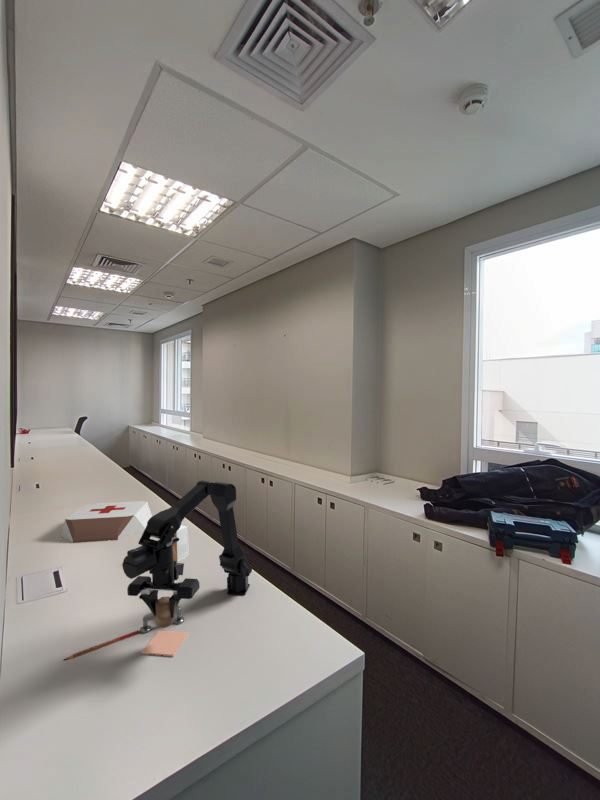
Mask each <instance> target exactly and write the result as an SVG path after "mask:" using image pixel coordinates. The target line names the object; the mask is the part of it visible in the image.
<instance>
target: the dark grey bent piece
mask: <svg viewBox="0 0 600 800" xmlns="http://www.w3.org/2000/svg"><path fill="white" fill-rule="evenodd" d="M162 597H163V596H162ZM162 597H160V598H162ZM181 610H182V609H181V606H179V605H178V607H177V611H176V614H175V615H176V617H174V622H173V624H175V625H180V624H182V623H184V621H185V617H183V616H182V615H181V614H182V613H181ZM153 620H156V617H155V616H154V615H153V613H149V614H145V615H144V616H142V625H143V626H142V627H140V628H139V633H141V634H147V633H150V631H152V626H151V625H150V624H148V622H149V621H150V622H151V621H153Z"/></svg>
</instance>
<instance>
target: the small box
mask: <svg viewBox="0 0 600 800" xmlns="http://www.w3.org/2000/svg"><path fill="white" fill-rule="evenodd" d="M188 533H189V531H188V526H187V525H183V524H181V526H180V528H179V529H178V531H177V532H176V533H175V534H174V535H175V536H176V537H177V538H179V541H177V542H175V543H173V559H174V561H176V563H180V562H181V561H183V560H184V559H186V557H187V558H188V557H190V555H189V553H190V552H189V534H188Z"/></svg>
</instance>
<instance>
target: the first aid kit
mask: <svg viewBox="0 0 600 800" xmlns="http://www.w3.org/2000/svg"><path fill="white" fill-rule="evenodd" d="M152 516H153V514H152V511H151V509H150V506H149V503H148V501H145V500H139V501H138V500H137V501H122V502H121V501H119V502H103V503H102V502H100V503H98V502H97V503H89V504H85V505H83V506H82V507H80V508H79V509H77V510H76V511H75V512H73V513H72V514H70V515H69V516H68V517H66V518H65V519H64V524H63V528H62V531H61V537H62V538H64V539H66V540H67V541H69V542H71V543H74V544H76V543H77V544H78V543H91V542H95V543H96V542H106V541H107V542H108V540H110V541H119V540H122V539H125V538H128V537H131V536H134V535H137V534H139V532H140V533H143V532H144V530H145V528H146V526H147V522H148V520H149V519H150V518H151V517H152ZM142 531H143V532H142ZM136 533H137V534H136ZM133 534H134V535H133ZM130 535H131V536H130ZM127 536H128V537H127ZM124 537H125V538H124ZM121 538H122V539H121ZM118 539H119V540H118Z"/></svg>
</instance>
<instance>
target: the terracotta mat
mask: <svg viewBox="0 0 600 800" xmlns="http://www.w3.org/2000/svg"><path fill="white" fill-rule="evenodd" d="M188 635H189V632H186V631H185V632H184V631H172V630H171V631H170V630H168V631H167V630H158V631H157V632H156V634H155V635H154V636H153V637H152V639H151V640H150V641H149V642H148V644H147V645H146V646H145V648H143V650H142V651H141V655H149V654H152V655H151V656H161V655H163V656H164V657H174V656H175V655H176V653H177V652H178V651H179V650H180V649H179V648H180V647H181V646H182V644H183V643H184V641H185V640H186V639H187V637H188ZM153 654H155V655H153ZM163 656H162V657H163Z"/></svg>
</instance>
